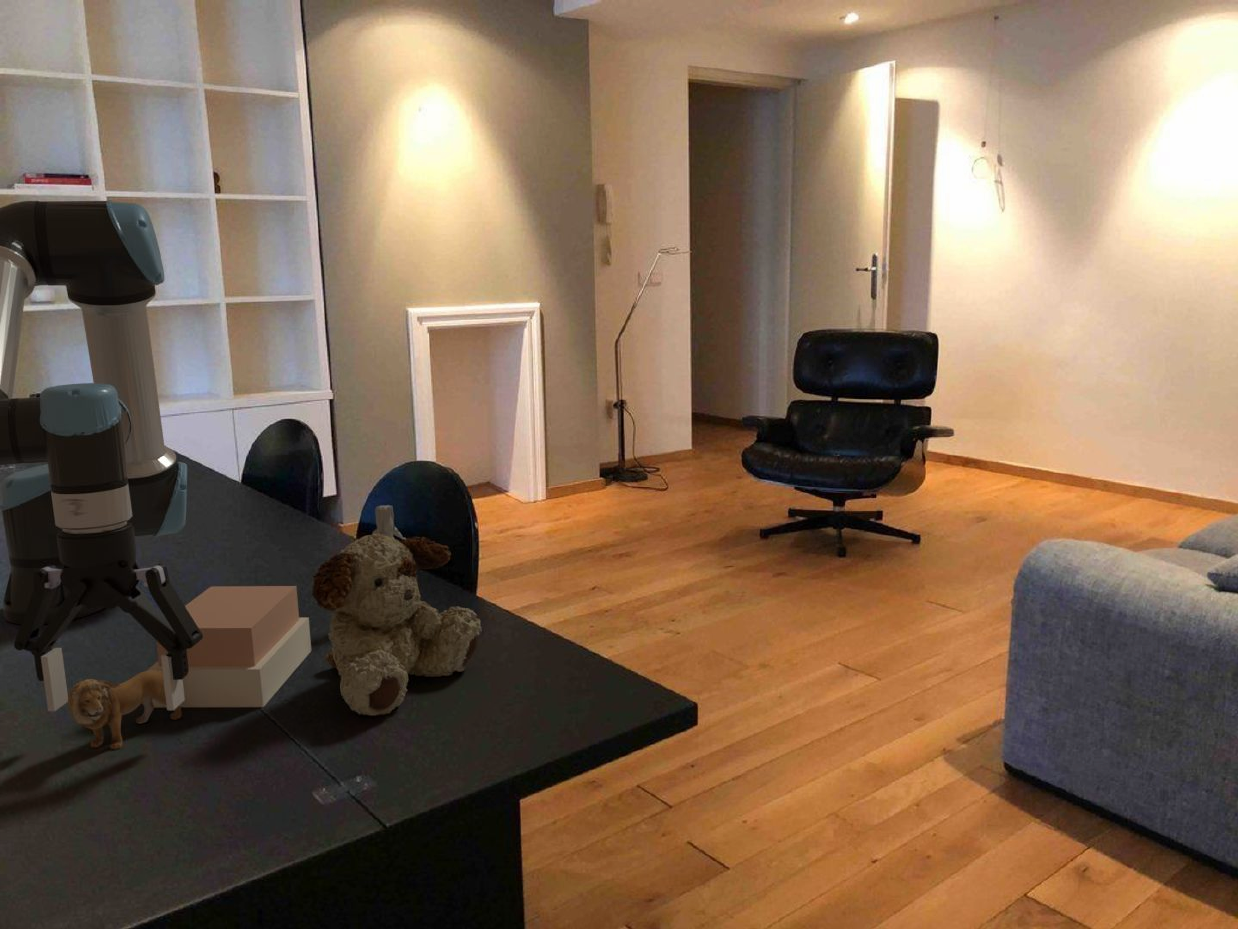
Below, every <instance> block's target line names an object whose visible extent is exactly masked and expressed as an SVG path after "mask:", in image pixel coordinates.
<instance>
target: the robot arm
mask: <svg viewBox="0 0 1238 929" xmlns="http://www.w3.org/2000/svg"><path fill="white" fill-rule="evenodd" d="M158 242H159V241H158V239H157V236H156V232H155V229H154V226H153V222H152V219H151V216H150V214H149V212H148V210H147V209H146V208H145V207H144V206H142V205H140V204H138V203H134V202H120V201H112V200H66V201H65V200H64V201H63V200H61V201H60V200H59V201H57V200H56V201H55V200H54V201H52V200H51V201H49V200H47V201H40V200H23V201H19V202H18V201H17V202H12V203H10V204H7V205H6V204H5V205H4V206H2V207H0V466H5V465H6V466H7V465H18V464H36V463H47V464H43V465H38V466H33V467H30V468H26V469H22V470H20V471H16V472H14V473H12V474H10V475H8V476H6V477H5V478H4V479H3V480H2V482H1V483H0V511H1V514H2V518H3V526H4V532H5V538H6V545H7V552H8V559H9V565H10V566H9V568H10V571H9V574H8V579H7V583H6V587H5V592H4V597H3V601H2V610H3V617H4V620H6V622H9V623H11V624H17V625H20V627H19V629H18V632H17V634H16V637H15V640H14V643H13V647H14V649H15V650H17V651H22V650H24V651H27V652H30V654H31V655H33V658H34V664H35V672H36V678H37V679H38V681H39V682H43V684H44V690H45V697H46V705H47V711H48V712H56V711H57V710H58V709H60V708H61V707H63V706H65V704H67V703H68V693H69V692H68V687H67V679H66V672H65V664H64V656H63V649H62V647H54V646H56V645H57V644H58V643H57V641H58V640H59V639H60V637H61V636H62V635H63V633H64V632H65V630H66V629H67V628H68V626H69V625H70V624H71V622H72V621H73V620H76V619H79V618H82V617H86V616H89V615H92V614H94V613H97V612H99V611H102V610H103V609H107V610H109V609H115V608H118V607H119V609H120V610H121V611H123V612H124V613H128V614H129V615H130V616H131V617H132V618H133V619H135V621H136V622H137V623H138V624H139V625H140V626H141V627H142V628H144V629H145V630H146V632H147V633H149V634H150V636H151V637H153V638H154V640H155V641H156V640H157V641H158V642H159V643H160V644H161V645H162V646H163V647H164V648H165V649H166V650H167V651H166V652H165V653H164V654H163V655H161V660H162V669H163V678H164V687H165V696H166V704H167V707H166V710H167V711H174V710H175V709H176V708H177V707H178V706H179V705H180V704H181V703H182V702H183V701H184V700H185V698H184V688H183V678H184V677H185V676H187V675H188V671H189V668H188V659H187V649H190V648H192V647H193V646H194V645H196V644H197V643H198V642H199V641H200V640H201V639H202V638H203V635H202V633H201V631H200V630H199V628H198V626H197V625H196V623H195V622H194V620H193V618H192V617H191V615H190V614H189V612H188V610H187V609H186V607H185V606H186V605H185V604H184V603H183V601H182V599H181V598H180V596H179V595H178V593H177V591H176V589H175V588H174V587H173V585H172V584H171V581H170V579H169V578H170V577H169V573H168V569H167V568H168V567H167V566H166V565H165V564H164V563H157V564H156V565H154V566H151V567H144V568H140V566H139V565H138V563H137V559H136V558H137V556H136V555H137V544H136V539H137V538H147V537H153V538H158V537H159V536H162V535H169V534H176V533H179V532H181V531H182V530H183V528H184V527H185V525H186V521H187V520H186V518H187V517H186V516H187V499H188V498H187V496H188V495H187V490H188V489H187V488H188V483H187V482H188V465H187V463H185V462H181V461H177V455H176V453H175V451H174V450H173V449H172V448H171V447H170V448H169V447H168V446H167V445H165V441H164V440H165V439H164V432H163V426H162V424H163V423H162V416H161V410H160V408H161V407H160V402H159V394H158V386H157V380H156V378H157V377H156V370H155V362H154V356H153V349H152V348H153V347H152V341H151V334H150V327H149V317H148V312H147V310H148V309H147V306H148V304H149V303H150V302H151V301H152V300H153V299H154V298H155V297H156V294H157V292H156V286H159V285H160V284H163V283H164V282H165V270H164V265H163V260H162V256H161V251H160V250H161V249H160V247H159V246H160V245H159V243H158ZM39 286H53V287H54V286H59V287H61V286H64V287H66V295H67V299H68V301H69V302H71V303H72V304H74V305H76V306H77V307H79V308H80V310H81V313H82V318H83V320H82V321H83V326H84V331H85V338H86V344H87V349H88V350H87V351H88V356H89V362H90V369H91V376H92V380H93V381H92V382H88V383H85V382H84V383H83V382H82V383H70V384H69V383H68V384H61V385H55V386H49V387H46V388H44V389H43V390H42V391H41V392H40V394H39V397H37V396H36V397H35V396H34V397H17V398H13V395H14V394H13V393H14V388H15V386H14V385H15V377H16V373H17V372H16V371H17V363H18V362H17V361H18V354H19V346H20V339H21V338H20V337H21V333H22V332H21V330H22V322H23V316H24V314H23V313H24V307H25V300H26V299H27V298H28V297H29V296H31V295H32V293H33V291H34V290H35V287H39ZM140 581H141V582H142V583H143V585H142V586H143V587H145V588H148V590H149V591H148V592H149V593H150V595H151V597H152V599H153V600H154V602H155V603H156V605H157V607H158V608H159V609H160V610H158V609H157V607H155V605H154V604H153V603H151V602H150V600H149V599H148V596H147V593H145V592H144V591H143V590H142V589H141V588H140V587H139V586H138V584H139V582H140ZM130 597H131V598H130ZM44 625H46V627H45V628H44V630H43V631H42V628H43V626H44ZM41 631H42V632H41ZM40 633H41V634H40ZM157 641H156V642H157ZM53 647H54V648H53Z"/></svg>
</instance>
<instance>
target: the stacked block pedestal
mask: <svg viewBox="0 0 1238 929" xmlns="http://www.w3.org/2000/svg"><path fill="white" fill-rule="evenodd" d="M297 589H298V588H297V585H275V586H274V585H268V586H267V585H253V586H252V585H251V586H250V585H248V586H245V585H244V586H242V585H241V586H236V585H235V586H232V585H230V586H229V585H228V586H225V585H224V586H219V585H218V586H217V585H215V586H210V587H208V588H207V589H205V590H204V591H202V593H201V594H198V596H196V597H195V598H194V599H192V600H191V601H190V602H188V603H187V604H186V605H184V606H185V607H186V609H187V610H188V612H189V614H190V615H191V617H192V618H193V620H194V622H195V623H196V625H197V626H198V628H199V630H200V631H201V633H202V635H203V638H202V639H201V640H200V641H199V642H198V643H197V644H196V645H194V646H193V647H192V648H190V649H187V659H188V668H189V671H188V675H187V676H185V677H184V678H183V688H184V698H185V700H184V701H183V702H182V703H181V704H180V707H181V708H264V707H265V706H266V705H267V704H268V702H270V700H271V699H272V698H273V696H274V695H275V694H276V693H277V692H278V691H279V689H280V688H281V687H283V685H284V684H285V683H286V682H287V680H288V679H289V678H290V677H291V675H292V674H293V673H294V672H295V671H296V669H297V668H298V667H299V666H300V665H301V664H302V663H303V662H304V660H305V659H306V658H307V657H308V656H309V654H310V653H311V652H312V644H311V643H312V641H311V630H310V618H309V617H300V615H299V614H300V612H299V603H298V601H299V600H298V590H297ZM155 641H156V650H157V657H158V660H157V661H156V662H155V663H154V664H153V665H152V666H150V667H149V668H148V669H147V671H149V670H158V671H161V672H163V669H162V660H161V655H163V654H164V653H165V652H166V651H167V650H166V649H165V648H164V647H163V646H162V645H161V644H160V643H159V642H158V641H157V640H156V639H155ZM152 703H153V706H154V708H167V705H164V704H161V703H159V702H157V701H156V700H154V699H152Z"/></svg>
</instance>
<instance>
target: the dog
mask: <svg viewBox="0 0 1238 929" xmlns="http://www.w3.org/2000/svg"><path fill="white" fill-rule="evenodd" d="M405 538H406V539H403V540H402V539H401V538H400V539H396V538H395V537H394V536H393V537H391V538H390V537H389V536H385V535H383V534H369V535H364V536H361V537H360V538H358V539H356V540H354V541H352V542H351V543H349V544H348V545H347V546H346V547H345V548H344V549H341V550H339V553H337V554H335V555H333V556H332V557H331V556H330V559H328V560H325V561H324V562H323V563H322V564H320V566H319V567H318V568H317V569H318V570H317V572H314V574H313V575H312V578H313V579H312V580H313V582H314V583H313V585H312V593H311V596H312V597H313V598H314V600H315V601H316V604H317V605H318V606H319V607H320V608H323V609H324V610H325V611H331V612H334V611H335V612H334V613H333V614H331V618H330V622H329V623H330V625H328V626H329V632H328V633H327V636H328V639H329V640H330V641H331V644H332V648H331V652H326V654H325V658H324V660H325V661H326V662H328V663H329V665H330V666H332V667H333V668H334V669H337V671H338V675H339V676H340V684H339V689H340V695H341V697H342V698H343V699H344V702H345V703H346V704H347V705H348V706H349V708H350V710H351V711H353V712H356V714H358V715H365V716H380V715H386V714H390V713H392V710H395V708H397V707H398V706H400V705H401V704H402V703H403V702H404V699H405V697H406V692H408V689H407V686H408V682H409V675H410V676H413V675H414V676H417V677H420V676H421V677H430V678H431V677H433V678H435V677H438V678H439V677H440V678H441V677H442V676H445V677H447V676H452V675H453V674H454V672H463V671H465V669H466V666H467V665H468V664H469V661H470V660H471V659H472V657H473V655H474V653H475V651H476V650H477V647H478V643H479V638H480V634H481V632H482V631H483V630H482V629H483V627H482V626H481V619H480V618H477V617H478V614H476V613H475V612H474V610H473V609H470V608H467V607H466V608H465V607H460V606H450V607H449V608H448V610H447V609H446V610H443V611H442V612H439V610H438V609H437V608H434V607H432V606H431V605H430V604H429V603H427V602H426V601H422V600H421V594H420V590H419V588H420V587H419V581H418V575H417V570H418V569H420V570H422V569H423V570H430V569H432V570H433V569H435V570H437V569H439V568H440V567H444V566H445V565H446V564H447V563H448V562H449V561H450V560H451V556H452V553H451V551H450V550H449V546H448V545H442V544H440V543H438V542H437V543H436V542H435V540H434V541H433V540H430V539H429V538H427V537H425V536H421V537H420V536H409V537H408V538H407V537H405Z"/></svg>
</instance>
